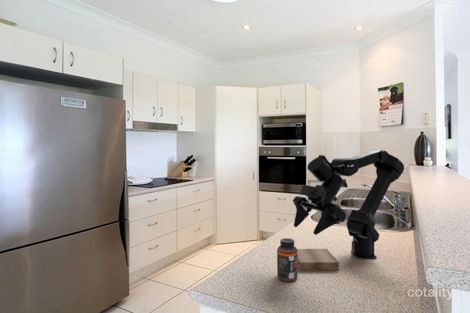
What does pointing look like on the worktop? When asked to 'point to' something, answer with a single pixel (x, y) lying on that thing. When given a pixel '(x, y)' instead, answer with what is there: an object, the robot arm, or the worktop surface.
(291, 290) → the worktop surface
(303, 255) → the walnut plinth
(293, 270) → the supplement bottle
